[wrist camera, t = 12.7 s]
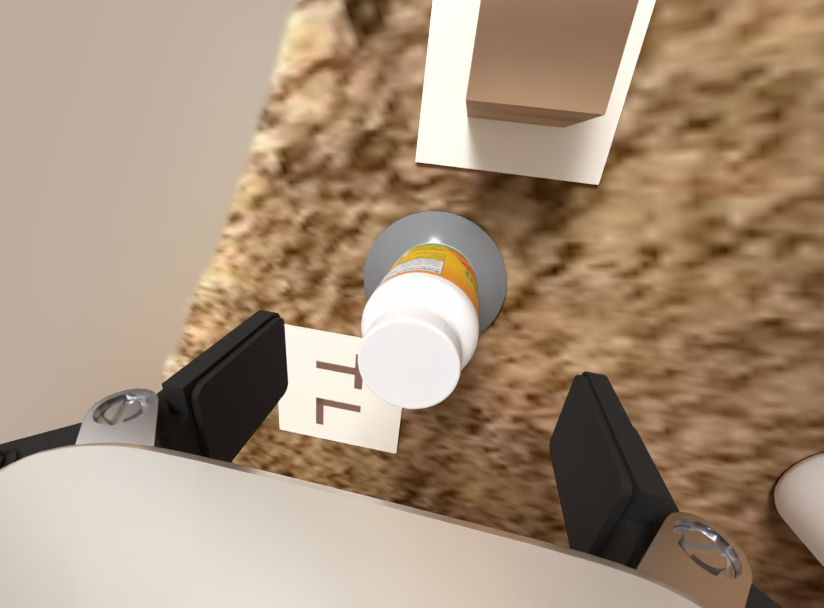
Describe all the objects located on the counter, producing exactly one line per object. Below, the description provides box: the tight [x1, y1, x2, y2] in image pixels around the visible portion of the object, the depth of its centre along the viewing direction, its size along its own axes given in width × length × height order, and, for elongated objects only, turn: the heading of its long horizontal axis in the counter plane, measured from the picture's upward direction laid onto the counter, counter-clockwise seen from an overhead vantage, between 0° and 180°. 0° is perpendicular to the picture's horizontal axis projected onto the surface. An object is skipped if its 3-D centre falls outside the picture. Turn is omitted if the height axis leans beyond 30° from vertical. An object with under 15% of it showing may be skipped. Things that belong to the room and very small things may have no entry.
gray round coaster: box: [364, 211, 507, 334], centre depth 22 cm, size 9×9×1 cm
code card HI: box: [415, 0, 656, 185], centre depth 17 cm, size 10×10×1 cm
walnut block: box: [466, 0, 639, 128], centre depth 14 cm, size 5×5×6 cm
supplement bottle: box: [358, 243, 479, 409], centre depth 18 cm, size 5×5×10 cm
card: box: [278, 324, 402, 454], centre depth 27 cm, size 10×10×1 cm
